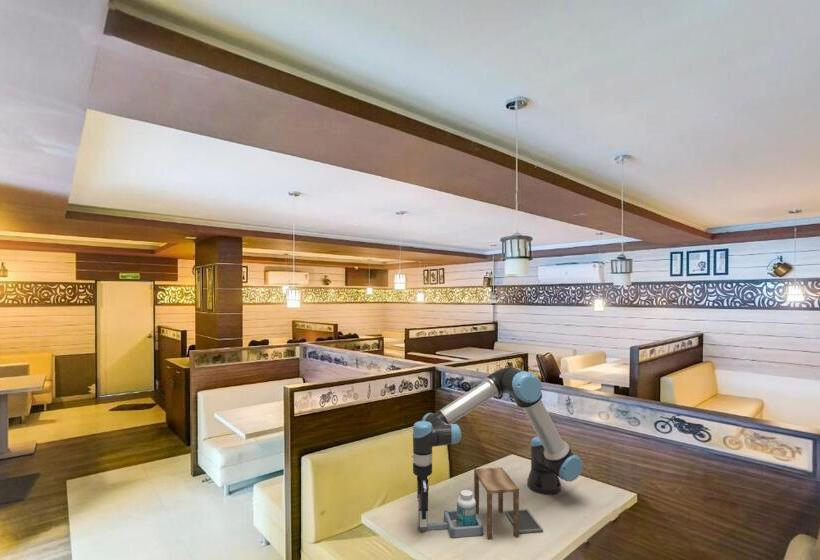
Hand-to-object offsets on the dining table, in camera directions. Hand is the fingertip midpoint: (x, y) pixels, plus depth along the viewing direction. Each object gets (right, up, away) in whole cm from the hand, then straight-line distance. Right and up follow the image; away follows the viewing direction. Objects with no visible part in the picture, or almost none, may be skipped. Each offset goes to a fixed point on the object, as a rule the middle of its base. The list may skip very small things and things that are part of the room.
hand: (422, 523), depth 163 cm
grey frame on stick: (+10, -2, +1) cm, 11 cm away
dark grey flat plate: (+41, -3, +5) cm, 41 cm away
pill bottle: (+17, -3, +2) cm, 18 cm away
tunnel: (+29, -3, +4) cm, 30 cm away
